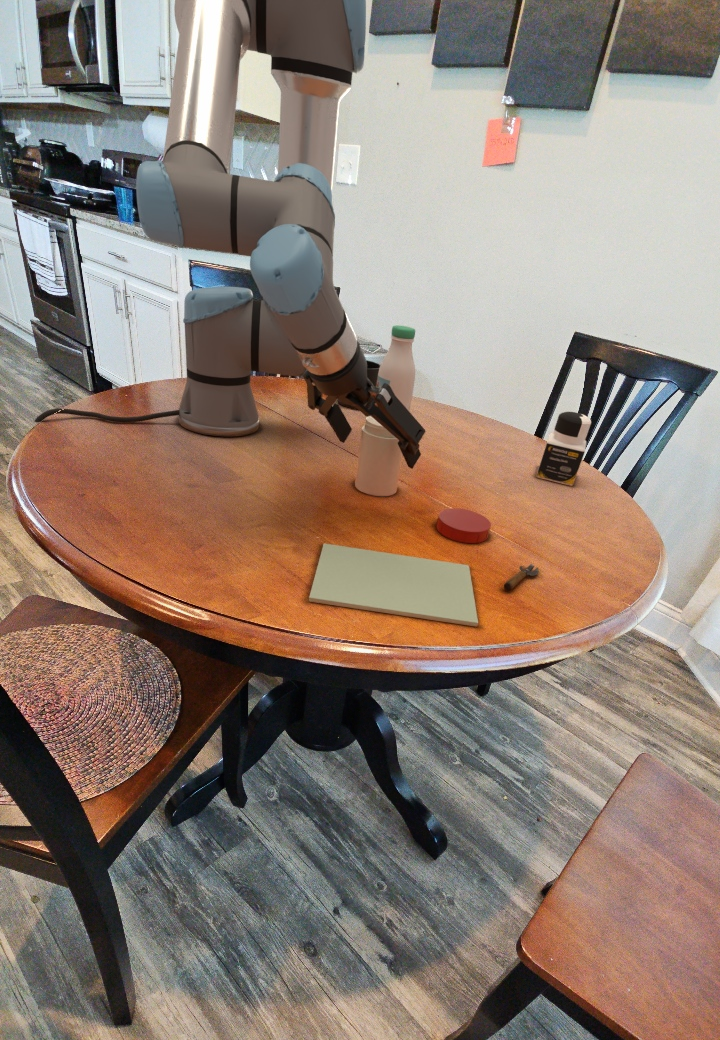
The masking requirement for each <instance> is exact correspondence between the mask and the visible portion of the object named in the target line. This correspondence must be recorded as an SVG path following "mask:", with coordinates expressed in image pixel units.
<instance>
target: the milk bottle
mask: <svg viewBox="0 0 720 1040" xmlns="http://www.w3.org/2000/svg"><path fill="white" fill-rule="evenodd" d="M415 337H416V329H415V328H414V327H410V326H406V325H400V324H398V325H393V326H392V328H391V336H390V339H391V343H390V345H389V348H388V350H387V352H386V354H385V355H384V357H383V359H382V360H381V363H380V368H379V372H378V378H377V384H376V387H378V388H381V387H382V385H383V384H384V383H386V384H388V385H389V386H390V387H391V388H392V390H393V392H394V394H395V396H396V397H397V398H398V399H399V400H400V402H401V403H402V404H403V405H404V406H405V407H406V408H407V410H408V411H409V412H410V413H411V405H412V401H413V393H414V388H415V381H416V364H415V360H414V356H413V342H415Z"/></svg>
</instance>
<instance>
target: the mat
mask: <svg viewBox="0 0 720 1040" xmlns="http://www.w3.org/2000/svg"><path fill="white" fill-rule="evenodd" d="M308 602H310V603H316V604H323V605H329V606H337V607H343V608H348V609H349V608H350V609H355V610H362V611H370V612H376V613H383V614H384V613H385V614H390V615H397V616H402V617H410V618H416V619H422V620H430V621H436V622H442V623H449V624H456V625H463V626H469V627H478V626H479V619H478V612H477V607H476V606H477V605H476V600H475V593H474V588H473V583H472V576H471V569H470V565H469V564H463V563H456V562H450V561H443V560H437V559H431V558H430V559H429V558H425V557H424V558H423V557H417V556H412V555H411V556H410V555H403V554H397V553H390V552H384V551H378V550H371V549H370V550H369V549H364V548H358V547H351V546H345V545H338V544H331V543H323V544H322V548H321V552H320V556H319V560H318V562H317V566H316V570H315V575H314V578H313V581H312V586H311V589H310V593H309V596H308Z"/></svg>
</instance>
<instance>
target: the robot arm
mask: <svg viewBox="0 0 720 1040" xmlns="http://www.w3.org/2000/svg"><path fill="white" fill-rule="evenodd" d="M173 6H174V20H175V24H176V28H177V31H178V34H179V36H178V42H177V49H176V50H177V51H176V57H175V64H174V65H175V66H174V73H173V81H172V88H171V96H170V102H169V111H168V118H167V124H166V125H167V126H166V132H165V140H164V148H163V154H162V155H163V156H162V160H161V159H157V160H156V161H155V160H154V161H152V160H144V161H143V162H141V163H140V164H139V166H138V168H137V172H136V181H135V185H136V187H135V189H136V190H135V191H136V204H137V213H138V218H139V223H140V226H141V228H142V231H143V232H144V234H145V236H146V237H147V238H148V239H150V240H152V241H154V242H158V243H161V244H162V243H163V244H167V245H171V246H176V247H178V248H182V249H183V248H188V249H196V250H203V251H211V252H218V253H225V254H234V255H240V256H246V257H250V258H249V268H250V274H251V277H252V278H253V280H254V282H255V284H256V286H257V288H258V291H259V294H260V296H261V297H262V299H255V298H254V294H253V291H252V290H251V289H250V288H248V287H239V286H210V287H209V286H208V287H200V288H195V289H192V290H190V291H189V292H187V294H186V295H185V297H184V307H183V309H184V310H183V311H184V313H183V320H182V321H183V322H182V323H183V324H184V341H185V343H184V344H185V359H186V360H185V365H186V382H185V386H184V388H183V389H184V390H183V392H182V395H181V400H180V404H179V407H178V409H175V410H168V411H162V412H156V413H155V412H154V413H150V414H145V415H140V416H113V415H107V414H103V413H99V412H96V411H86V410H78V409H71V408H51V409H48V410H46V411H43V412H42V413H40V414H38V416H37V417H36V418H35V419H34V423H41V422H42V421H44V420H45V419H47V418H48V417H50V416H53V415H61V414H62V415H63V414H64V415H72V416H80V417H88V418H96V419H101V420H103V421H107V422H113V423H137V422H144V421H151V420H155V419H160V418H169V417H174V416H175V417H176V416H178V423H179V425H180V426H182V427H183V428H184V429H187V430H188V431H191V432H193V433H198V434H201V435H207V436H214V437H230V438H231V437H242V436H248V435H250V434H253V433H255V432H257V431H258V430H259V429H260V415H259V411H258V407H257V404H256V401H255V397H254V394H253V389H252V387H251V373H252V372H258V373H263V374H264V373H265V374H273V375H283V376H291V377H298V378H299V379H302V378H303V379H304V381H305V383H306V393H307V397H306V398H307V407H308V409H310V410H312V411H315V409H316V410H318V413H319V414H320V415H322V416H323V417H324V418H325V420H326V422H327V423H328V424H329V426H330V427H331V429H332V431H333V432H334V434H335V436H336V437H337V438H338V440H339V442H340V443H342V444H344V443H346V441H347V439H348V438H349V436H350V434H351V432H352V430H353V428H352V426H351V425H350V422H349V421H348V419H347V417H346V416H345V414H344V412H343V410H342V409H341V407H340V404H339V403H336V401H338V399H339V400H340V401H342V402H343V403H344V404H347V405H351V406H354V407H356V408H357V409H356V410H357V411H359V412H360V413H362V415H364V416H365V417H368V416H371V417H373V418H374V419H375V420H376V421H377V422H378V423H380V424H381V425H382V426H383V427H384V428H385V429H387V430H388V431H389V432H390V433H391V434H392V435H393V436H395V437H396V438H397V439H398V440H399V442H398V446H399V448H400V450H401V452H402V454H403V458H404V461H405V463H406V465H407V467H408V468H409V469H412V470H413V469H414V467H415V466H416V464H417V462H418V460H419V459H420V458H421V456H422V453H421V451H420V447H421V445H420V442H421V440H422V438H423V437H424V435H425V433H426V432H427V431H426V429H425V428H424V426H423V425H421V423H420V422H419V421H418V419H416V417H415V416H414V415H413V414H412V413H411V411H410V412H409V411H408V410H407V408H406V407H405V406H404V405H403V404H402V403H401V402H400V400H399V399H398V398H397V397H396V396H395V394H394V392H393V390H392V388H391V387H390V386H389V385H388V384H386V383H384V384H383V385H382V387H381V388H378V387H374V385H373V384H372V383H371V381H370V380H369V379H368V378H367V361H366V360H367V358H366V356H365V354H364V351H363V349H362V347H361V344H360V342H359V340H358V339H357V335H356V333H355V331H354V328H353V326H352V323H351V322H350V320H349V317H348V315H347V313H346V311H345V309H344V307H343V305H342V302H341V300H340V298H339V295H338V293H337V291H336V288H335V285H334V239H335V225H336V224H335V223H336V214H335V207H334V195H333V183H334V171H335V159H336V147H337V137H338V136H337V135H338V123H339V122H338V121H339V112H340V104H341V101H342V99H343V98H344V97H345V96H346V95H347V94H348V92H350V90H351V89H352V82H353V81H352V80H353V73H354V74H358V73H361V72H362V71H363V70H364V65H365V53H366V52H365V49H366V48H365V47H366V33H367V32H366V29H367V0H174V5H173ZM247 51H251V52H257V53H258V54H263V55H267V56H270V57H271V59H270V62H271V63H270V74H271V76H272V78H273V79H274V81H275V83H276V84H277V86H278V88H279V91H280V105H279V107H280V108H279V113H280V114H279V136H278V140H279V141H278V161H277V174H276V176H275V178H274V181H273V180H269V179H263V178H262V179H261V178H256V177H249V176H243V175H238V174H231V165H232V155H233V144H234V143H233V142H234V141H233V140H234V134H235V133H234V131H235V121H236V119H235V118H236V110H237V100H238V89H239V88H238V86H239V76H240V63H241V60H242V59H243V58H244V57H245V55H246V54H247ZM323 395H324V396H326V397H325V399H324V398H323ZM370 397H373V398H374V399H373V401H372V402H371V404H370V406H369V407H368V408H366V407H365V405H366V404H367V402H368V400H369V399H370ZM62 409H64V410H62ZM59 410H61V411H60V412H58V411H59ZM56 412H57V413H56ZM54 413H56V414H54Z"/></svg>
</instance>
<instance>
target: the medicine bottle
mask: <svg viewBox="0 0 720 1040" xmlns="http://www.w3.org/2000/svg"><path fill="white" fill-rule="evenodd" d="M591 425H592V419H591V418H589V416H587V415H585V414H583V413H580V412H575V411H564V412H560V413H559V414H558V417H557V420H556V423H555V425H554V428H553V432H550V433H549V435H548V438H547V440H546V444H545V447H544V450H543V453H542V456H541V460H540V462H539V465H538V469H537V472H536V475H535V476H536V478H538V479H541V480H545V481H550V482H554V483H558V484H562V485H565V486H570V487H572V486H574V484H575V481H576V478H577V475H578V472H579V469H580V466H581V464H582V462H583V459H584V456H585V453H586V449H587V448H586V447H587V440H586V439H587V436H588V433H589V430H590V427H591Z"/></svg>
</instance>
